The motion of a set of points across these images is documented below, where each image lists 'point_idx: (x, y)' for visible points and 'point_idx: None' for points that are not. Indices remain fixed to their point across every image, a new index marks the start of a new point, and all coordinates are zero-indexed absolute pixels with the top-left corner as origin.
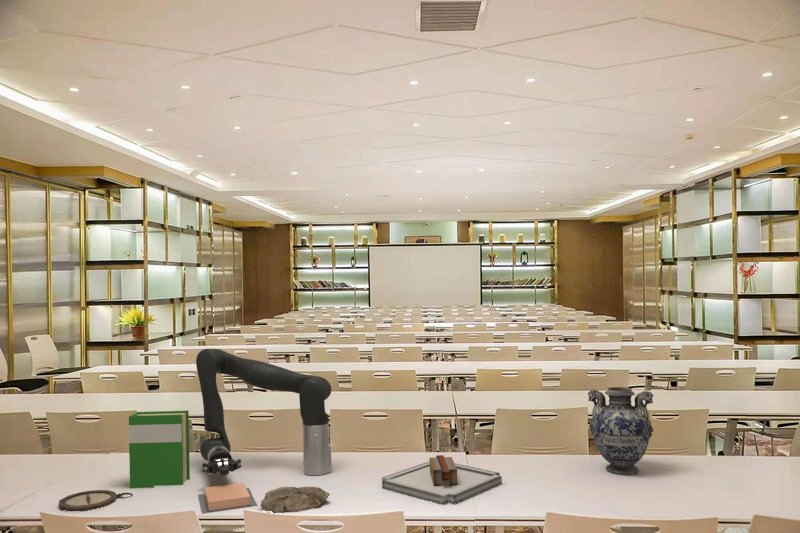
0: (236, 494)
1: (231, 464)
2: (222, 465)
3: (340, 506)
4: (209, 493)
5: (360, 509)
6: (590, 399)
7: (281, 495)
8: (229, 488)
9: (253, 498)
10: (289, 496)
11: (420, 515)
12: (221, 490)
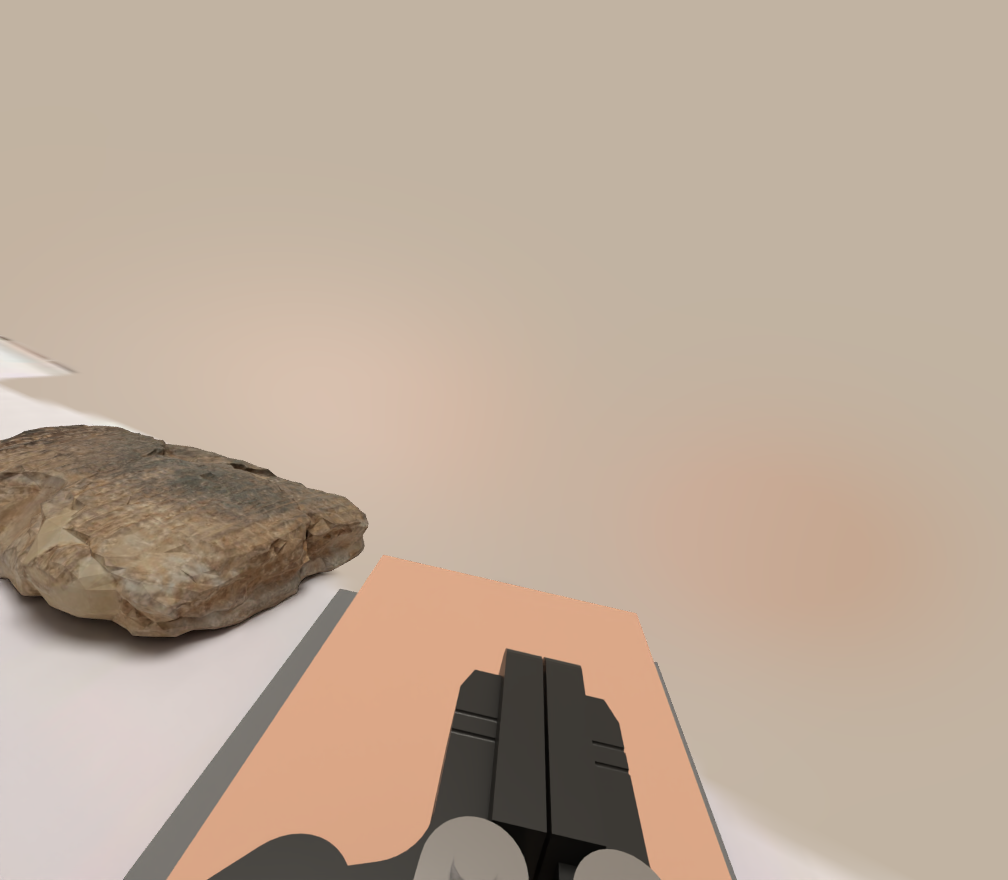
0: (444, 616)
1: (318, 848)
2: (577, 871)
3: None
4: (661, 760)
5: (65, 422)
6: None
7: (256, 477)
8: None
9: (266, 693)
10: (237, 462)
11: (38, 370)
12: None
